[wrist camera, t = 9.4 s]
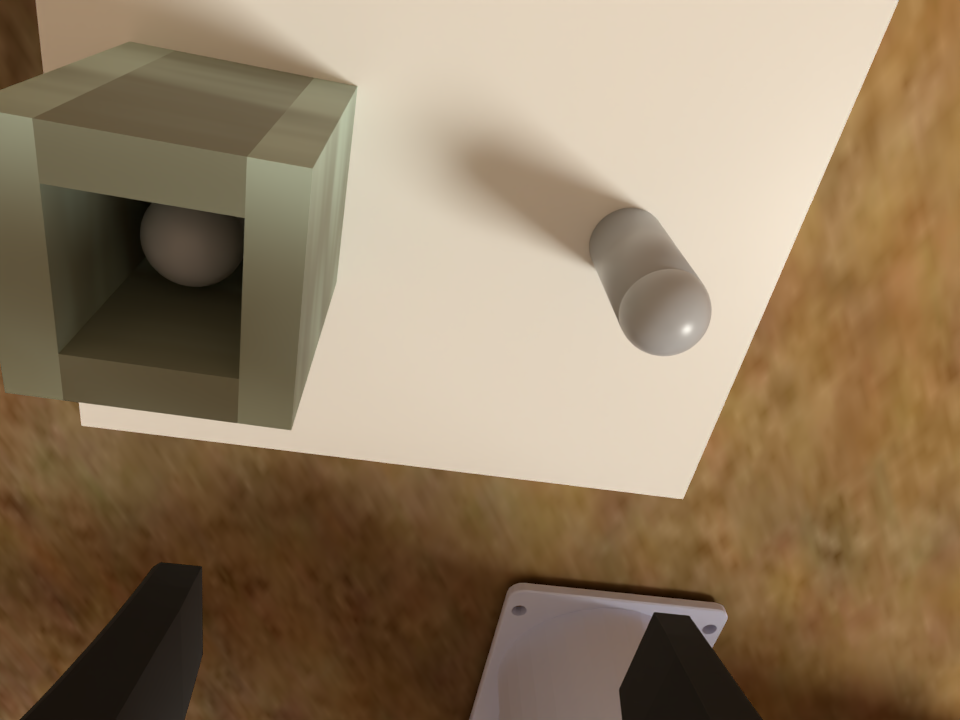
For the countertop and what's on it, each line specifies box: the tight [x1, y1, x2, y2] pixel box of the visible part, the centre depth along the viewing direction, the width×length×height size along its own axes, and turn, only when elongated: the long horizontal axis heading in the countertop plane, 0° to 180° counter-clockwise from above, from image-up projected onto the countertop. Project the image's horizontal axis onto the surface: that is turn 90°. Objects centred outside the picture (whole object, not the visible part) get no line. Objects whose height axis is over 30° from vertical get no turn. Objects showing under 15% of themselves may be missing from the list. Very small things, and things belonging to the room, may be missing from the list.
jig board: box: [36, 0, 899, 499], centre depth 16 cm, size 15×17×6 cm
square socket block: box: [0, 41, 358, 430], centre depth 14 cm, size 5×5×6 cm
